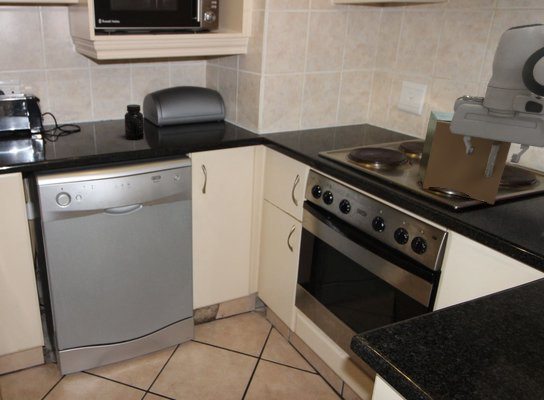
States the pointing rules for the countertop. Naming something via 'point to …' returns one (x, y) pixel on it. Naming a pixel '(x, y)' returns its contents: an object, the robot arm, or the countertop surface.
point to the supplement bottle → (134, 123)
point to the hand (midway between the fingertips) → (491, 158)
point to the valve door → (466, 164)
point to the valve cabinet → (431, 139)
